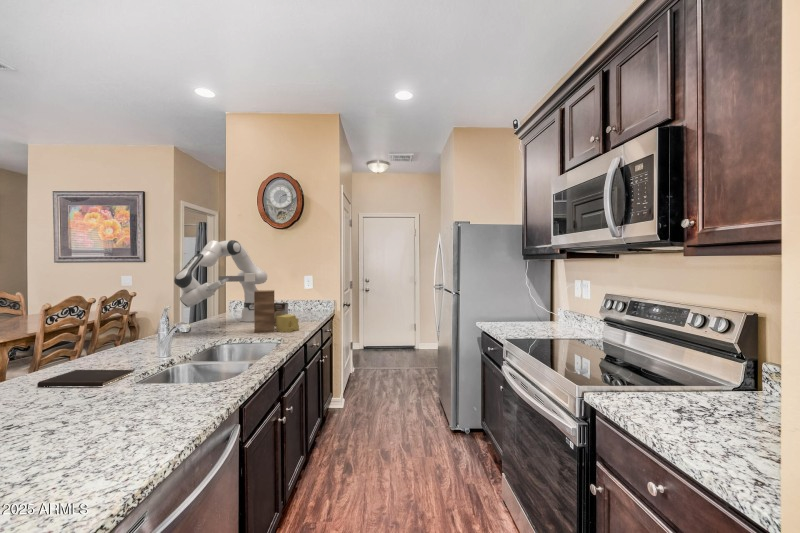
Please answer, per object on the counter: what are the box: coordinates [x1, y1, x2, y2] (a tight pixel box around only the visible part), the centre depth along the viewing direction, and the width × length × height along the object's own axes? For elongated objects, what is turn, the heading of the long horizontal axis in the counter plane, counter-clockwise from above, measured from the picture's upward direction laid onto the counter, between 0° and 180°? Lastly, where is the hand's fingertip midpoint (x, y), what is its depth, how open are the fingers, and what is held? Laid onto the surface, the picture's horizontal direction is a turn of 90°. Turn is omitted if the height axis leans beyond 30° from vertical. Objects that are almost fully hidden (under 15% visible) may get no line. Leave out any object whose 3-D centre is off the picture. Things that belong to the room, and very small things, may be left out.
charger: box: [218, 273, 255, 283], centre depth 241 cm, size 6×21×5 cm, turn 108°
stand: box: [253, 289, 275, 334], centre depth 246 cm, size 12×13×26 cm
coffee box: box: [274, 302, 289, 327], centre depth 266 cm, size 9×6×16 cm
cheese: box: [275, 313, 300, 333], centre depth 247 cm, size 10×11×10 cm
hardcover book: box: [36, 369, 135, 388], centre depth 141 cm, size 16×23×2 cm
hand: (229, 278), depth 239 cm, fingers closed on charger, 3 cm apart
